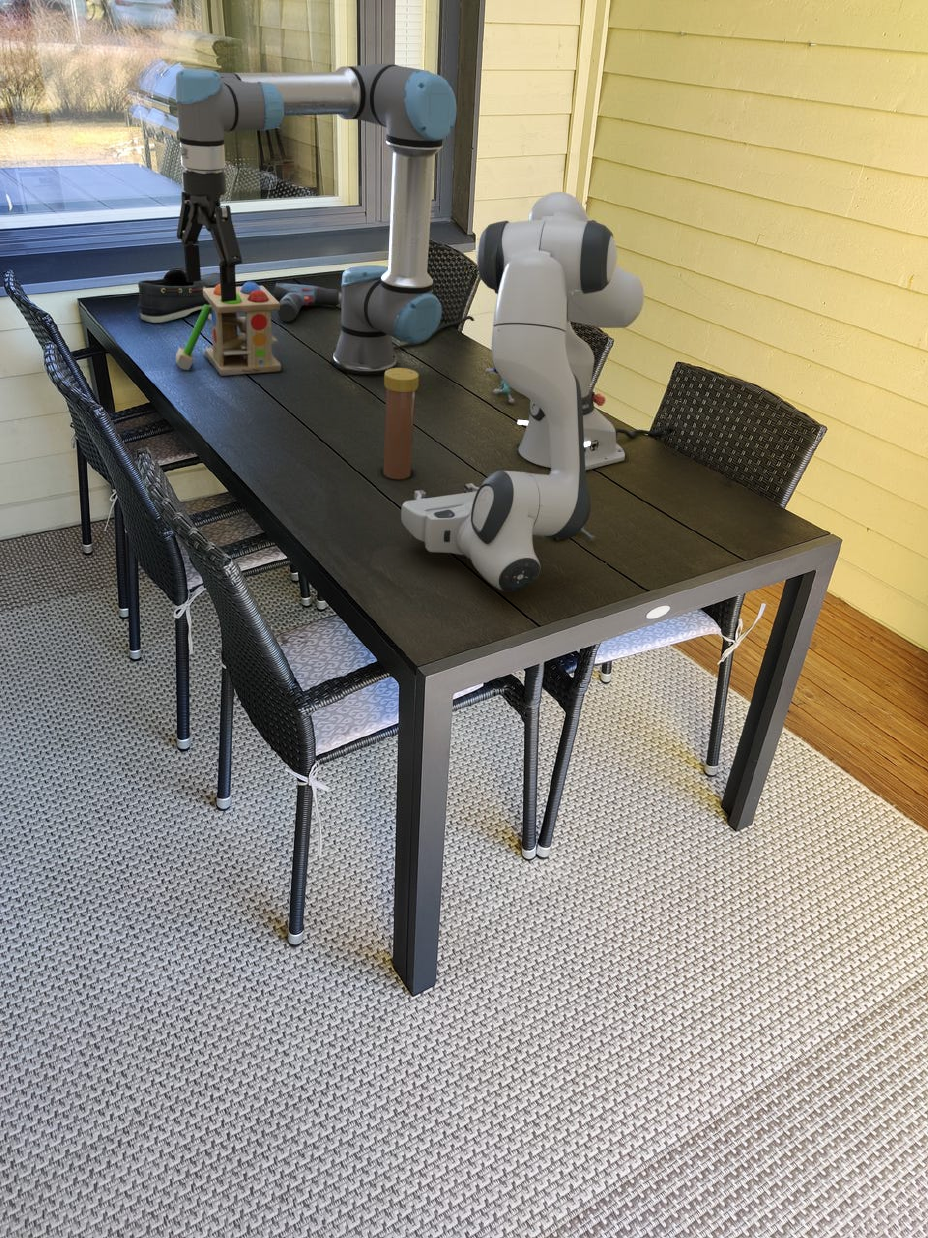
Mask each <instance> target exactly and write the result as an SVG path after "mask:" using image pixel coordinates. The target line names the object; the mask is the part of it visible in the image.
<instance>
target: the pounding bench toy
mask: <svg viewBox="0 0 928 1238" xmlns="http://www.w3.org/2000/svg"><path fill="white" fill-rule="evenodd" d="M203 296H204V297H205V299H206V300H207V301H208V302H209V304H210V305H211V307H210V306H208V305H204V307H203V309H201V312H200V313H199V316H198V318H197V320H196V322H195V324H194V327H193V329H192V331H191V332H190V333H191V334H190V336H189V338H188V340H187V343H186V344H185V347H184V348H182V347H180V346H179V347H178V349H177V351H176V354H175V357H174V358H175V362H176V365H177V366H178V368H179V369H182V370H185V371H189V370H190V369H191V367H192V365H193V363H194V356H193V351H194V348H195V347H196V345H197V342H198V340H199V337H200V336H201V333H202V332H203V329H204V326H205V325H206V322H207V320H209V321H210V322H211V336H212V337H211V338H212V339H211V340H212V348H205V349H204V352H205V353H204V355H205V357H206V359H208V361H209V363H210V364H211V365H212V366H213V367H214V369H215V370H216V371H217V372H218V374H219V375H220V376H222V377H223V376H234V375H235V376H236V375H246V374H247V375H250V374H262V373H275V372H281V370H282V364H281V363H280V362H279V360H278V359H277V358H276V357H275V356H274V355H273V348H272V347H273V345H272V344H276V343H278V342H279V341H278V339H277V338H276V337H275V336H274V334H272V311H278V310H280V302H278V301H277V300H276V299H275V296H273V295H272V294H271V293H270V292H269V290H268V289H267V288H266V287H264V285H259V284H257V283H256V282H255V281H247V282H245V283H244V284H243V285H242V286H236V299H237V300H235V301H228V302H222V301H221V284H218V285H217V286H216V287H215V288H204V289H203ZM238 313H244V314H245V315H244V316H238ZM238 329H239V331H240V333H239V334H238Z"/></svg>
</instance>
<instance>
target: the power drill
mask: <svg viewBox="0 0 928 1238" xmlns="http://www.w3.org/2000/svg"><path fill="white" fill-rule="evenodd" d="M274 298H275V299H276V300H277V301H278V302H279V303H280V310H277V315H278V318H279V319H280V320H281V321H284V322H292V321H293V320H295V318H296V317H297V316H298V314H299V312H300V310H301V309H302V307H303V306H306V307H309V306H312V307H313V306H338V305H339V304H341V292H340V291H339V290H338V289H335V288H334V289H332V288H325V287H321V286H316V285H307V284H297V283H281V282H276V283H275V285H274Z"/></svg>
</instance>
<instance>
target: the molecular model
mask: <svg viewBox="0 0 928 1238" xmlns="http://www.w3.org/2000/svg"><path fill="white" fill-rule="evenodd" d="M493 372H494V373H496V374H498V372H497V371H496V369H495V367H494V368H490V367H487V368H486V369H485V373H486V374H490V373H493ZM498 376H499V378H500V381H501V382H500V387H498V388H494V389H493V390H492V393H493V394H494V395H500V394H501V393H502V394H504V395H507V398H508V403H509V404H511V405H513V404H514V403H515V398H512V396H511V389H512V387H510V386H509V385H508V384H507V383H506V382H505V381H504V380H503V379H502V378H501V377H500V375H499V374H498Z"/></svg>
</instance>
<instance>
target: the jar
mask: <svg viewBox="0 0 928 1238" xmlns="http://www.w3.org/2000/svg"><path fill="white" fill-rule="evenodd" d="M416 390H417V389H416ZM416 390H414V391H410V392H397V391H392V390H389V389H387V388H386V387H385V409H384V410H385V412H384V437H383V438H384V439H383V459H382V461H383V462H382V475H383V476H384V477H386V478H389V479H392V480H404V479H408V478H409V477H411V474H412V459H413V443H414V442H413V441H414V439H413V438H414V424H415V422H414V421H415V405H416Z"/></svg>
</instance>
